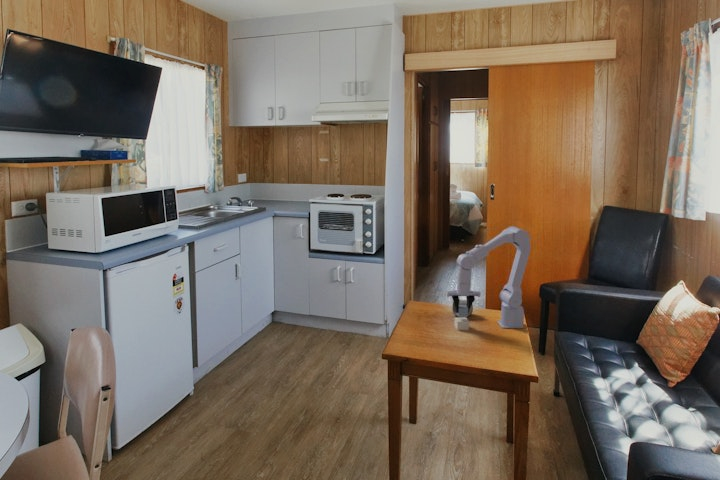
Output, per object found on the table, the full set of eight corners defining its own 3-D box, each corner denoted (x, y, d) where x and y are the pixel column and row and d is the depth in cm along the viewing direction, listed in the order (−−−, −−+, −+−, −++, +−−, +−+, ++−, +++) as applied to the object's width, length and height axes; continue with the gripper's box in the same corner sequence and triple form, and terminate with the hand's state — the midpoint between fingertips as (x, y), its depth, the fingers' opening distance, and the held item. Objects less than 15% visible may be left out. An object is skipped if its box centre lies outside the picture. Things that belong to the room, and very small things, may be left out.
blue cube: (465, 313, 224) (465, 305, 223) (467, 317, 220) (468, 308, 219) (456, 313, 224) (456, 305, 223) (458, 317, 220) (459, 308, 219)
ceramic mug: (473, 317, 236) (474, 302, 234) (455, 318, 235) (456, 302, 233) (466, 310, 246) (467, 295, 245) (449, 310, 245) (450, 295, 244)
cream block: (465, 325, 226) (465, 317, 225) (468, 330, 221) (469, 321, 220) (454, 326, 225) (454, 317, 225) (457, 330, 221) (457, 321, 220)
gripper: (478, 279, 223) (476, 309, 226) (445, 279, 222) (443, 309, 225) (482, 284, 216) (480, 314, 219) (448, 284, 216) (447, 314, 218)
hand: (462, 312), depth 222 cm, fingers closed on blue cube, 4 cm apart
